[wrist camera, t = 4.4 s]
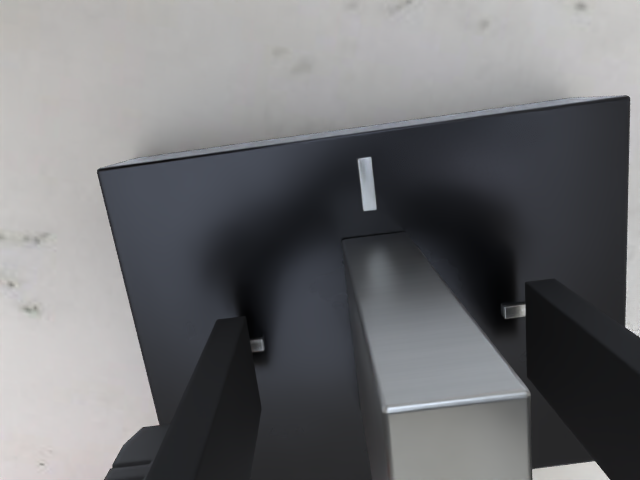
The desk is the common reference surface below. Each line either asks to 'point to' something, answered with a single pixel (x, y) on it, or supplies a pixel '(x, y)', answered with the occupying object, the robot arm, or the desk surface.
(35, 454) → the desk surface
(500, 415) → the stove knob
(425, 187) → the panel
